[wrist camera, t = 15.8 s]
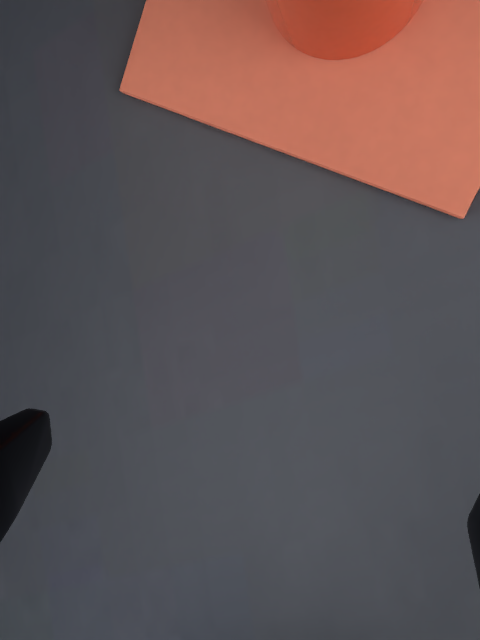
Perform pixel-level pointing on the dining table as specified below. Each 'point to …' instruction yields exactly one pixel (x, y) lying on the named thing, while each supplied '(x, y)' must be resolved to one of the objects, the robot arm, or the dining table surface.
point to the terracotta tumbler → (340, 24)
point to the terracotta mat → (326, 93)
